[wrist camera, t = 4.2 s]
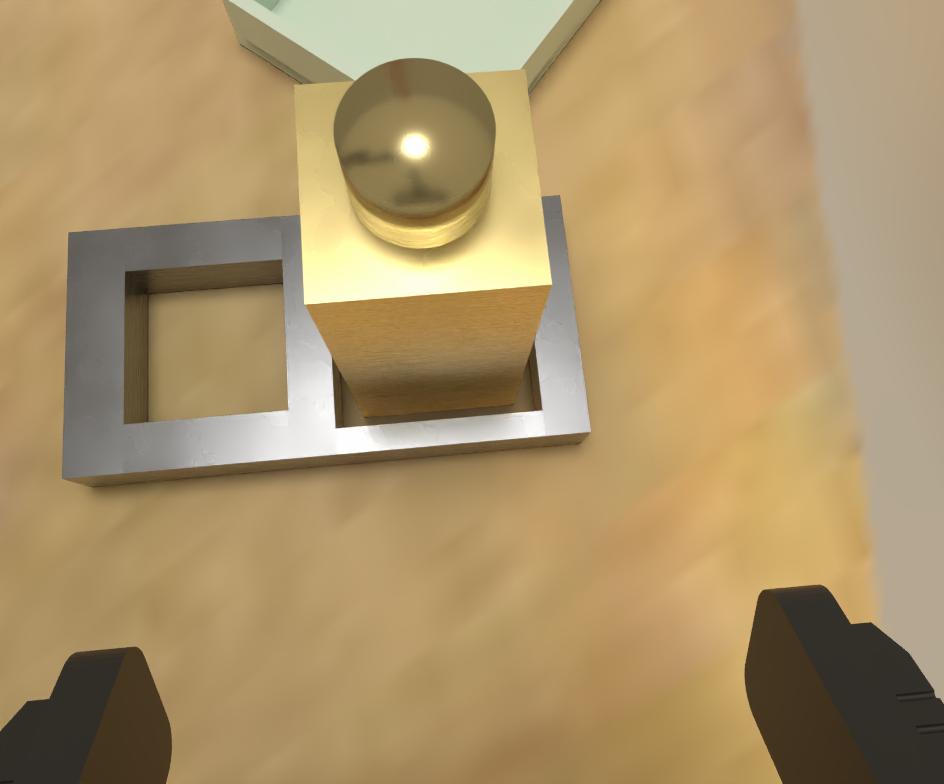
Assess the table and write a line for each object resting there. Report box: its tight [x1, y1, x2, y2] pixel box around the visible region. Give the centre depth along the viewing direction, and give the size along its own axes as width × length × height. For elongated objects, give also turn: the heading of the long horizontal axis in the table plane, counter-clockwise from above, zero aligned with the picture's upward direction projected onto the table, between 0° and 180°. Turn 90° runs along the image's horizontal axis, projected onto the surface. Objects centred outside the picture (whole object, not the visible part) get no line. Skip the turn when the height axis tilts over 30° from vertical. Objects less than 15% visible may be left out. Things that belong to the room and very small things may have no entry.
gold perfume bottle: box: [294, 58, 552, 418], centre depth 21 cm, size 5×5×13 cm
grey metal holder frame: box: [62, 195, 591, 487], centre depth 26 cm, size 8×16×2 cm, turn 95°
